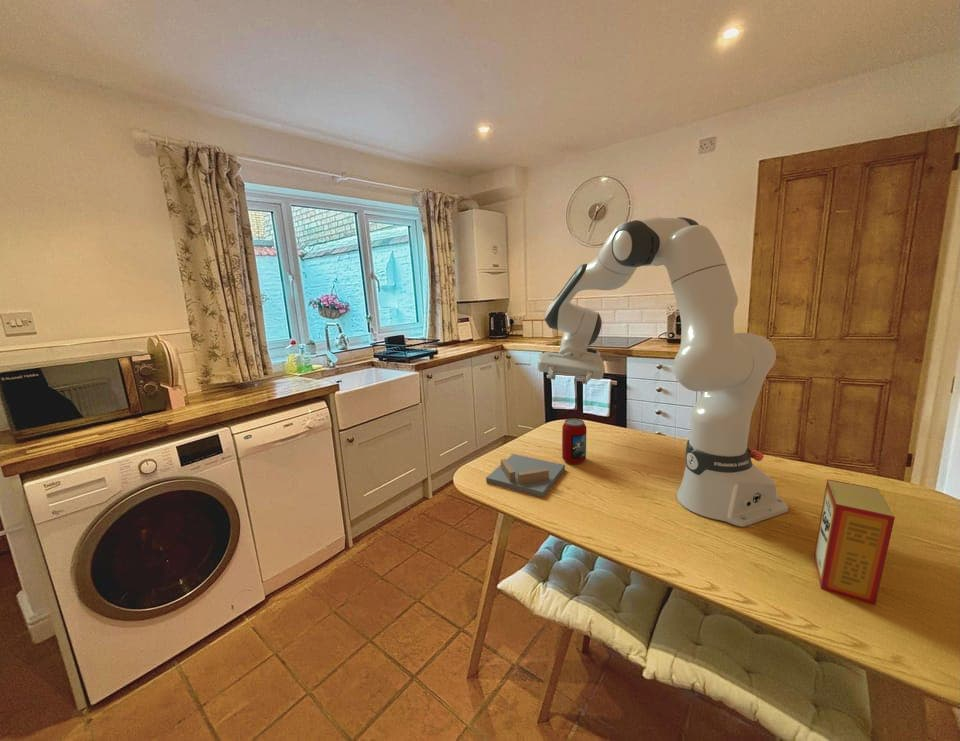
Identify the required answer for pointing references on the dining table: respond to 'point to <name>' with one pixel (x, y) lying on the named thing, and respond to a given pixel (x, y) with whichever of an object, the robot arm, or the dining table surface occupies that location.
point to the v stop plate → (523, 467)
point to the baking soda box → (852, 540)
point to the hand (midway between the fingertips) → (568, 379)
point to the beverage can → (574, 441)
